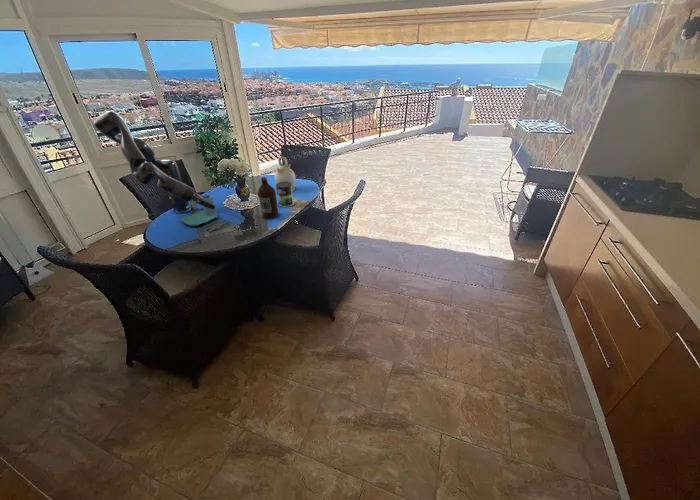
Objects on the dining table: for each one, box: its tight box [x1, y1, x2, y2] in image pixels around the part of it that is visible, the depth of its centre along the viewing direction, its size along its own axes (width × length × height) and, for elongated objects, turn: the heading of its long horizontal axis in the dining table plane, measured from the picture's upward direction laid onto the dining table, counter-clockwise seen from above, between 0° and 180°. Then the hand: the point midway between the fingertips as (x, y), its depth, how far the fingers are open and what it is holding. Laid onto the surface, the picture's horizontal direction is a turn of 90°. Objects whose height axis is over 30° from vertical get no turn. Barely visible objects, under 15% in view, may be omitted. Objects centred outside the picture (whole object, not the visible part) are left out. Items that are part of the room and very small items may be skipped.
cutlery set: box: [180, 209, 230, 233], centre depth 180 cm, size 20×30×2 cm, turn 53°
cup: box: [201, 194, 218, 216], centre depth 158 cm, size 6×6×10 cm
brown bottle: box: [257, 176, 279, 220], centre depth 179 cm, size 11×11×25 cm
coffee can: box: [275, 182, 295, 208], centre depth 197 cm, size 10×10×14 cm
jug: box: [274, 155, 297, 192], centre depth 216 cm, size 15×16×25 cm
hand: (212, 205), depth 160 cm, fingers closed on cup, 6 cm apart
